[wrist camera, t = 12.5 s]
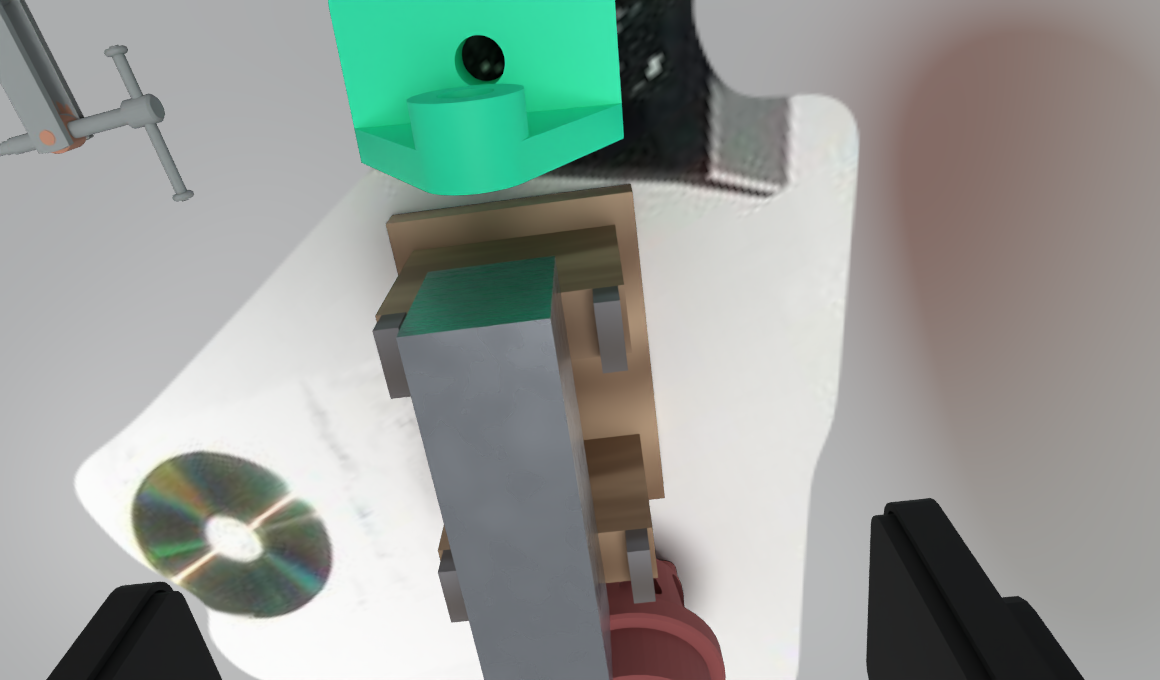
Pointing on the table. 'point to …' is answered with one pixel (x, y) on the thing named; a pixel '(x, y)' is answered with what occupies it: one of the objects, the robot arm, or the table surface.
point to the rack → (595, 335)
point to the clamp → (66, 96)
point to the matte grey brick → (510, 467)
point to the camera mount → (478, 88)
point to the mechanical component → (660, 634)
